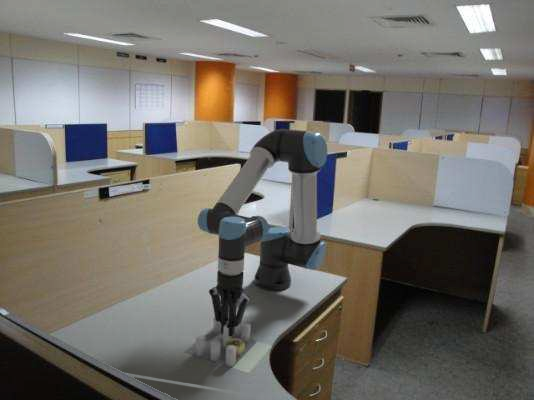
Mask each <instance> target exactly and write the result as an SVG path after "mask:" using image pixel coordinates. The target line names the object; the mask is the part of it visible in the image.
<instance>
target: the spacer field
mask: <svg viewBox="0 0 534 400" xmlns="http://www.w3.org/2000/svg"><path fill="white" fill-rule="evenodd" d="M227 323H228V321H227ZM212 326H213V327H212V328H211V329H210V330H209V331H207V332H206V333H205V334H204V335H197V336H196V338H195V342H194V343H193V344H191V346H190V347H188V348H187V349H185V351H184V352H185V353H187V354H190V355H193V356H196V357H199V358H202V359H205V360H208V361H210V362H214V363H217V364H219V365H222V366H225V367H228V368H231V369H234V370H237V371H240V372H243V373H245V374H250V373H251V371H252V370H253V369H254V368H255V367H256V366H257V364H258V363H259V362H260V361H261V359H262V358H264V356H265V355H266V354H267V352H268V351H269V350H270V349H271V348H272V347H273V346H272V345H271V344H268V343H266V342H265V343H264V342H261V341H257V340H255V339H251V330H252V329H251V328H252V327H251V326H252V325H251V324H249V323H242V324H241V330H240V331H241V332H240V335H238V334H237V327H235V331H234V335H233V336H232V339H241V340H242V341H243V342H244V343H245V351H244V353H243V354H242V355H241V356H240V357H236V347H235V346H234V345H229V346H227V347H225V346H223V334H221V323H220V322H219V321H216V319H215V315H214V316H213V325H212Z"/></svg>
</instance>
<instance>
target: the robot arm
mask: <svg viewBox="0 0 534 400" xmlns="http://www.w3.org/2000/svg"><path fill="white" fill-rule="evenodd" d="M249 154H250V155H249V157H248V158H247V160H246V162H244V164H243V166H242V167H241V168H240V170H239V171H238V173H237V174H236V175H235V177H234V178H233V180H232V181H231V183H230V184H229V185H228V186H227V188H226V189H225V191H224V192H223V193H222V195H221V196H220V198H219V199H218V201H216V204H215V205H214V206H213V207H212V208H210V207H209V208H207V207H205V208H204V209H202V210H201V211H200V212H199V214H198V217H197V226H198V228H199V229H200V230H201V231H202V232H205V233H208V234H210V235H217V236H218V254H217V273H216V274H217V275H216V276H217V277H216V283H217V284H216V286H213V287H212V288H211V289H208V293H209V295H210V297H211V301H212V307H213V313H214V316H215V319H216V321H219V322H220V323H221V334H223V346H225V347H226V342H228V341H229V340H230V339H232V336H233V335H234V331H235V327H236V328H237V327H238V326H239V325H240V324H241V323H242V321H243V317H244V314H245V311H246V309H247V305H248V303H249V302H250V301H251V296H249V295H246V294H245V291H244V289H243V284H244V275H245V274H244V270H245V253H246V248H247V247H248V246H250V245H253V244H255V243H257V242H260V248H259V250H260V251H259V252H260V253H259V264H258V268H257V269H256V272H255V275H254V280H253V281H254V285H256V286H257V288H259V289H260V288H261V289H263V290H266V291H267V290H268V291H282V290H287V289H289V288H290V287H291V285H292V276H291V274H290V273H291V272H290V269H289V265H292V266H296V267H300V268H304V269H305V270H312V271H316V270H318V269H319V268H320V267H321V265H322V264H323V262H324V260H325V257H326V253H327V248H328V247H327V246H328V245H327V242H325V241H324V240H322V235H321V232H319V231H318V198H317V197H318V193H317V192H318V191H317V190H318V189H317V187H318V186H317V185H318V183H317V182H318V173H319V172H320V171H321V170H322V167H323V166H325V163H326V162H327V157H328V145H327V141H326V138H325V137H324V136H323V134H321V133H319V132H315V131H311V130H300V129H299V130H298V129H287V128H279V129H275V130H273V131H270V132H268V133H267V134H266V135H264V136H262V137H261V138H260V139H259V140H258V141H257V142H256V143H255V144H254V145H253V147H252V148H251V149H250V151H249ZM278 162H283V163H287V165H288V166H287V167H288V171H289V172H290V173H291V174H292V190H293V191H292V193H293V194H292V195H293V196H292V197H293V201H292V202H293V229H294V230H293V231H292V230H291V229H290V228H289V227H283V226H282V227H281V226H280V227H279V226H277V227H275V226H274V227H269V226H270V225H269V222H268V221H267V220H266V218H265V217H264V216H261V215H252V216H251V217H249V216H244V215H239V214H238V213H239V212H240V211H241V209H242V208H243V206H244V204H245V203H246V202H247V200H248V199H249V197H250V196H251V194H252V193H253V191H254V190H255V188H256V187H257V185H258V184H259V182H260V181H261V179H262V178H263V177H264V175H265V174H266V172H267V170H268V169H270V168H272V167H274V165H275V163H278ZM239 299H240V301H239ZM238 301H239V302H240V304H239V305H238ZM237 305H238V310H237ZM227 321H228V323H227Z"/></svg>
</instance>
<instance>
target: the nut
mask: <svg viewBox="0 0 534 400" xmlns="http://www.w3.org/2000/svg"><path fill="white" fill-rule="evenodd" d="M229 345H234V346H235V347H236V357H240V356H241V355H242V354H243V353H244V351H245V343H244V342H243V341H242V340H241V339H230V340H229V341H228V342H226V347H227V346H229Z"/></svg>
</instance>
